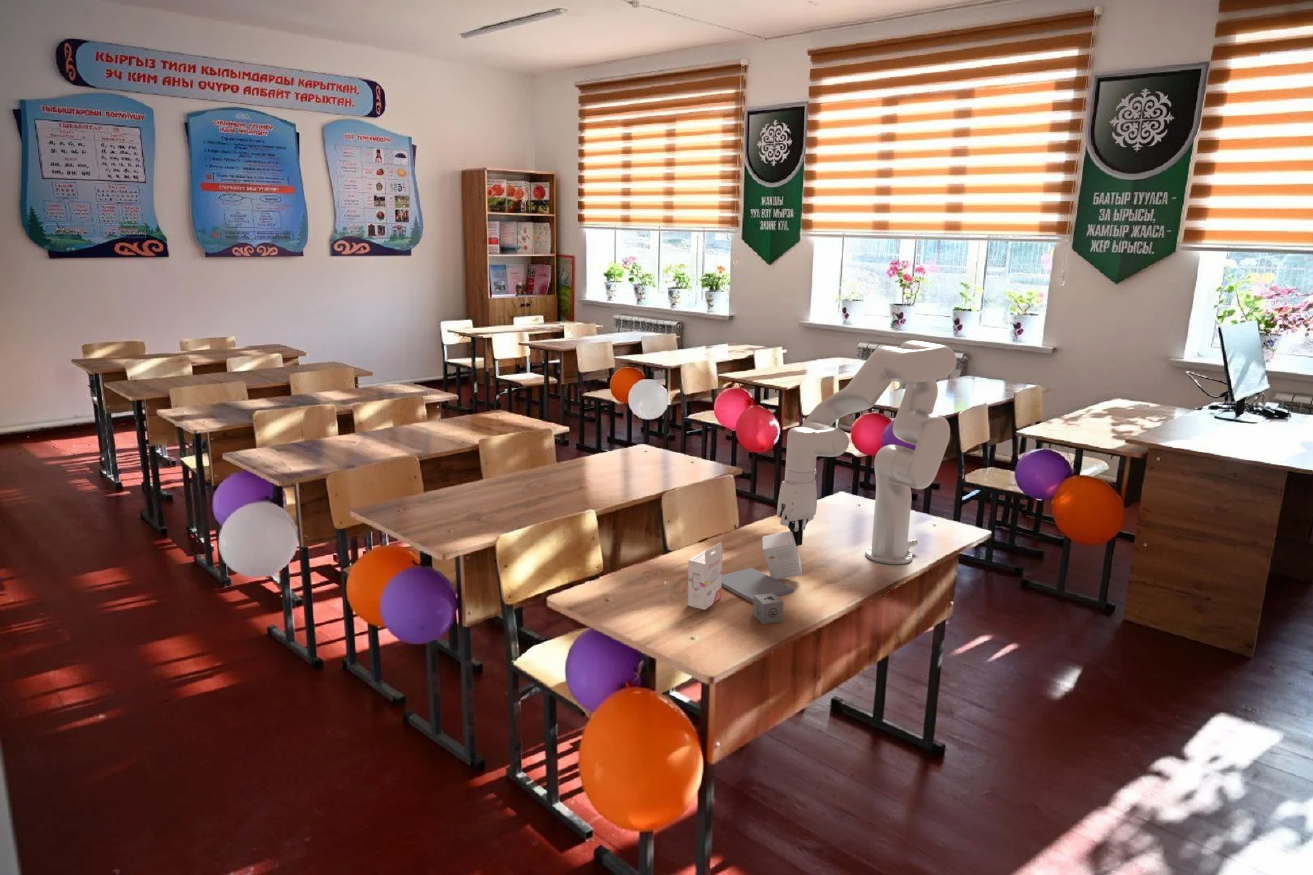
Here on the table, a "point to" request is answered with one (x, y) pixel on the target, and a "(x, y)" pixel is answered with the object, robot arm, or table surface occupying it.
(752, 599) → the mat
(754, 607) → the dice cube
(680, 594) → the table surface
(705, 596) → the ink cartridge box
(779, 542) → the small box
